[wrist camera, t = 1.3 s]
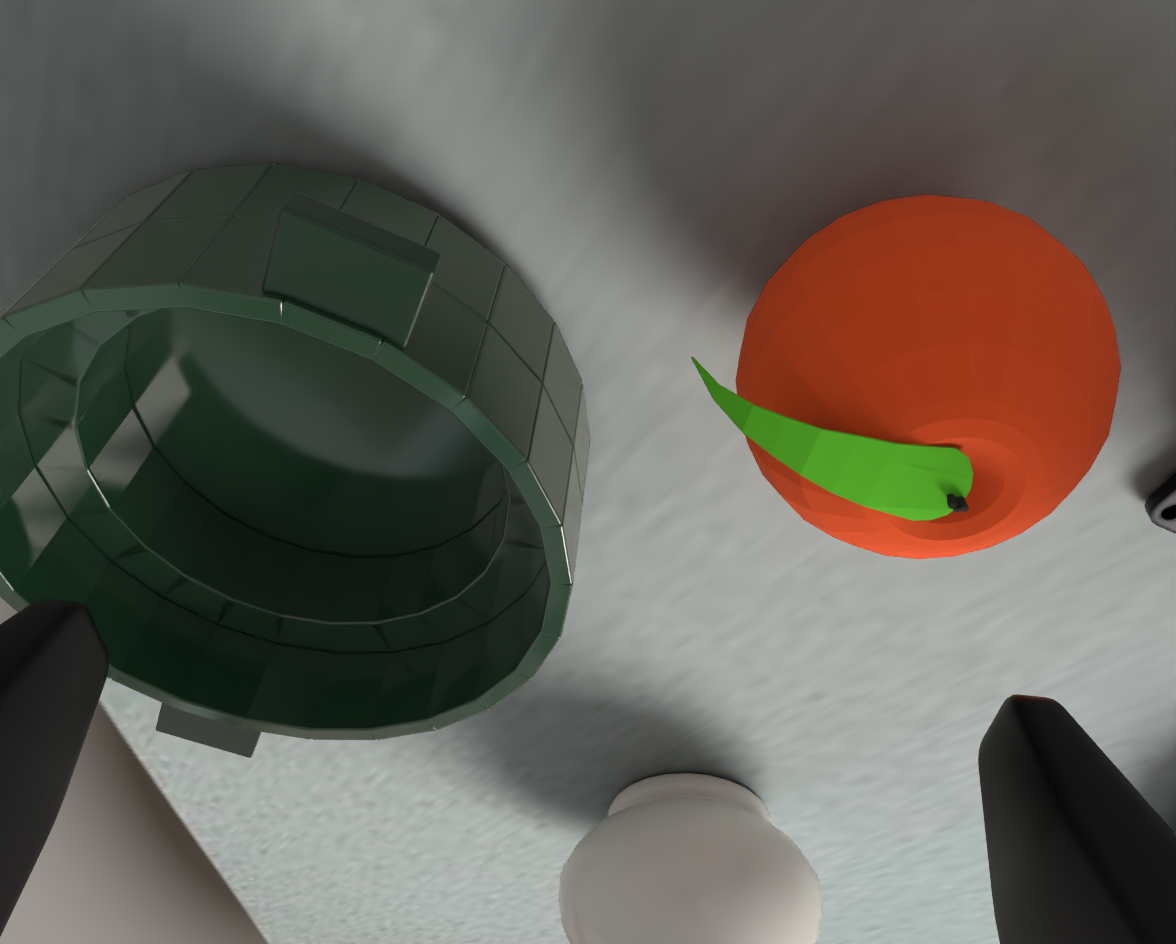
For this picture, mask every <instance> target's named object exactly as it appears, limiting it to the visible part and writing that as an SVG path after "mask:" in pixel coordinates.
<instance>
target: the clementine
mask: <svg viewBox="0 0 1176 944" xmlns="http://www.w3.org/2000/svg"><path fill="white" fill-rule="evenodd" d="M691 358H692V360H693V362H694V364H695V366H696V368H697V370H698V372H699V373H700V375H701V377H702V379H703V381H704V383H705V385H706V387H707V389H708V391H709V392H710V394H711V396H712V398H713V399H714V401H715V402H716V403H717V404H718V405H719V406H720V407H721V409H722V410H723V411H724V412H725V413H726V414H727V415H728V416H729V418H730V419H731V420H732V421H733V422H734V423H735V424H736V426H737V427H738V428H739V429H740V430H741V431H742V432H743V433H744V434H745V436H746V439H747V443H748V445H749V447H750V449H751V451H752V453H753V456H754V458H755V460H756V462H757V464H758V466H759V468H760V470H761V472H762V474H763V476H764V477H765V478H766V479H767V480H768V481H769V482H770V484H771V485H772V486H773V487H774V488H775V489H776V490H777V492H778V493H779V494H780V495H781V496H782V497H783V498H784V499H785V500H786V501H787V502H788V504H789V505H790V506H791V507H792V508H793V509H794V510H795V511H796V512H797V513H798V514H799V515H800V516H801V517H802V518H803V519H804V520H805V521H807V522H809V523H810V524H812V525H814V526H815V527H817V528H819V529H820V530H822V531H824V532H825V533H827V534H829V535H831V536H832V537H834V538H837V539H839V540H842V541H844V542H846V543H849V544H851V545H854V546H857V547H860V548H863V549H866V550H869V551H873V552H876V553H879V554H882V555H886V556H895V557H905V558H915V559H924V558H938V557H951V556H957V555H961V554H965V553H969V552H973V551H977V550H981V549H985V548H989V547H991V546H993V545H996V544H998V543H1000V542H1003V541H1005V540H1007V539H1009V538H1012V537H1014V536H1016V535H1018V534H1021V533H1023V532H1024V531H1025V530H1027V529H1028V528H1030V527H1031V526H1033V525H1034V524H1036V523H1037V522H1039V521H1040V520H1042V519H1043V518H1045V517H1046V516H1047V515H1049V514H1050V513H1052V511H1053V510H1054V509H1055V508H1056V507H1057V506H1058V505H1059V504H1060V503H1061V502H1062V501H1063V500H1064V499H1065V498H1066V497H1067V496H1068V495H1069V494H1070V493H1071V492H1072V490H1073V489H1074V488H1075V487H1076V486H1077V484H1078V483H1079V482H1080V481H1081V479H1082V478H1083V477H1084V476H1085V474H1086V473H1087V472H1088V471H1089V469H1090V468H1091V466H1092V464H1093V463H1094V461H1095V459H1096V457H1097V455H1098V454H1099V452H1100V450H1101V448H1102V446H1103V445H1104V443H1105V441H1106V439H1107V437H1108V436H1109V431H1110V426H1111V422H1112V417H1113V412H1114V407H1115V402H1116V396H1117V390H1118V383H1119V377H1120V371H1121V365H1120V358H1119V352H1118V346H1117V339H1116V333H1115V328H1114V325H1113V322H1112V319H1111V316H1110V313H1109V310H1108V308H1107V305H1106V302H1105V299H1104V297H1103V296H1102V294H1101V292H1100V290H1099V289H1098V287H1097V285H1096V284H1095V282H1094V280H1093V279H1092V277H1091V275H1090V274H1089V272H1088V270H1087V268H1086V267H1085V265H1084V263H1082V262H1081V261H1080V260H1079V259H1078V258H1077V257H1076V256H1075V255H1074V254H1072V253H1071V252H1070V251H1069V250H1068V249H1067V248H1066V247H1065V246H1064V245H1062V244H1061V243H1060V242H1059V241H1058V240H1056V239H1055V238H1054V237H1053V236H1051V235H1050V234H1049V233H1048V232H1046V231H1045V230H1044V229H1043V228H1042V227H1040V226H1039V225H1038V224H1037V223H1035V222H1034V221H1033V220H1032V219H1030V218H1029V217H1027V216H1024V215H1021V214H1019V213H1016V212H1014V211H1011V210H1008V209H1006V208H1003V207H1001V206H998V205H995V204H993V203H990V202H988V201H982V200H974V199H965V198H955V197H945V196H935V195H919V196H912V197H905V198H898V199H891V200H884V201H880V202H877V203H875V204H872V205H870V206H867V207H864V208H862V209H859V210H857V211H854V212H851V213H849V214H846V215H844V216H841V217H839V218H838V219H836V220H835V221H833V222H832V223H831V224H829V225H828V226H826V227H825V228H823V229H822V230H820V231H819V232H817V233H816V234H814V235H813V236H811V237H810V238H808V239H807V240H805V241H804V242H803V244H802V245H801V246H800V247H799V248H798V249H797V250H796V251H795V252H794V253H793V254H792V255H791V256H790V258H789V259H788V260H787V261H786V262H785V263H784V264H783V265H782V266H781V267H780V268H779V269H778V270H777V272H776V273H775V274H774V275H773V276H772V277H771V278H770V280H769V281H768V282H767V283H766V285H765V287H764V289H763V291H762V293H761V294H760V296H759V298H758V300H757V302H756V304H755V306H754V307H753V309H752V311H751V313H750V315H749V317H748V319H747V323H746V328H745V332H744V337H743V342H742V347H741V352H740V357H739V363H738V369H737V376H736V388H737V394H735V393H733V392H731V391H730V390H728V389H726V388H724V387H723V386H721V385H719V384H718V383H717V382H716V381H715V379H714V378H713V377H712V376H711V375H710V374H709V373H708V372H707V371H706V370H705V369H704V368H703V367H702V366H701V365H700V364H699V363H698V362H697V361H696V360H695V358H694V357H691Z"/></svg>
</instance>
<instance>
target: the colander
mask: <svg viewBox="0 0 1176 944" xmlns="http://www.w3.org/2000/svg"><path fill="white" fill-rule="evenodd" d="M293 192H300V193H302V194H304V195H307V196H309V197H311V198H314V199H316V200H318V201H321V202H323V203H325V204H328V205H330V206H332V207H335V208H337V209H339V210H342V211H344V212H346V213H349V214H351V215H353V216H356V217H358V218H361V219H363V220H365V221H368V222H370V223H372V224H375V225H377V226H379V227H382V228H384V229H386V230H389V231H391V232H393V233H396V234H398V235H400V236H403V237H405V238H407V239H410V240H412V241H414V242H417V243H419V244H421V245H424V246H426V247H428V248H431V249H433V250H436V251H438V252H439V253H440V254H441V261H440V263H439V266H438V269H437V271H436V274H435V276H434V279H433V282H432V284H431V287H430V290H429V292H428V295H427V298H426V300H425V303H424V305H423V308H422V311H421V313H420V316H419V319H418V321H417V324H416V326H415V329H414V332H413V334H412V337H411V339H410V342H409V344H408V347H407V348H406V349H404V348H401V347H400V346H398V345H397V344H395V343H394V342H392V341H391V340H389V339H387V338H384V337H383V336H382V335H380V334H377V333H375V332H372V331H370V330H367V329H365V328H362V327H360V326H357V325H355V324H352V323H350V322H347V321H345V320H342V319H340V318H337V317H335V316H332V315H330V314H327V313H325V312H322V311H320V310H317V309H315V308H312V307H310V306H307V305H305V304H302V303H300V302H297V301H295V300H292V299H290V298H284V297H282V296H279V295H273V294H267V293H264V292H262V291H261V289H262V284H263V280H264V276H265V272H266V268H267V264H268V259H269V255H270V251H271V247H272V243H273V238H274V234H275V230H276V226H277V222H278V218H279V213H280V209H281V208H282V206H283V205H284V203H285V202H286V201H287V199H288V198H289V197H290V195H291V194H292V193H293ZM504 264H505V263H504V262H503V261H502V260H501V259H500V258H498V257H497V256H496V255H494V254H493V253H491V252H490V251H489V250H487V249H486V248H485V247H483V246H482V245H481V244H479V243H478V242H477V241H475V240H474V239H473V238H471V237H470V236H468V235H467V234H466V233H464V232H463V231H462V230H460V229H459V228H458V227H456V226H455V225H454V224H452V223H451V222H450V221H448V220H447V219H445V218H444V217H443V216H441V215H439V216H438V213H437V212H435V211H433V210H431V209H428V208H426V207H424V206H421V205H419V204H417V203H414V202H412V201H410V200H408V199H405V198H403V197H401V196H398V195H396V194H394V193H392V192H389V191H387V190H385V189H382V188H380V187H378V186H375V185H373V184H371V183H369V182H366V181H364V180H362V179H359V180H358V179H357V178H354V177H348V176H343V175H337V174H332V173H326V172H321V171H315V170H310V169H304V168H299V167H293V166H288V165H282V164H258V165H245V166H231V167H218V168H204V169H196V170H190V171H188V172H185V173H183V174H180V175H177V176H175V177H172V178H170V179H167V180H165V181H162V182H160V183H157V184H154V185H152V186H149V187H147V188H144V189H142V190H139V191H137V192H134V193H131V194H129V195H128V196H127V197H125V198H123V199H122V200H121V201H120V202H119V203H118V204H117V205H116V206H114V207H113V208H112V209H111V210H110V211H109V212H108V213H107V214H105V215H104V216H103V217H102V218H101V219H100V220H99V221H98V222H97V223H95V224H94V225H93V226H92V227H91V228H90V229H89V230H88V231H86V232H85V233H84V234H83V235H82V236H81V237H80V238H79V239H78V240H77V241H76V242H75V243H74V244H73V245H72V246H70V247H69V248H68V249H67V250H66V251H65V252H64V253H63V254H62V255H61V256H60V257H59V258H58V259H57V260H56V261H55V262H54V263H53V264H52V265H51V266H50V267H49V268H48V269H47V270H46V271H44V272H43V273H42V274H41V275H40V276H39V277H38V278H37V279H36V280H35V281H34V282H33V283H32V284H31V285H30V286H29V287H28V288H27V289H26V290H25V291H24V292H23V293H22V294H20V295H19V296H18V297H17V298H16V299H15V300H14V301H13V302H12V303H11V304H10V305H9V306H8V307H7V308H6V309H5V310H4V311H3V312H2V313H1V314H0V597H1V598H2V599H4V600H5V601H6V602H7V603H8V604H9V605H10V606H11V607H13V608H14V609H15V610H16V611H17V612H19V611H21V610H22V609H24V608H25V607H27V606H28V605H30V604H32V603H34V602H36V601H38V600H42V599H55V600H66V601H76V602H80V603H82V604H83V605H85V606H86V607H87V608H88V610H89V611H90V614H91V616H92V618H93V620H94V623H95V625H96V627H97V629H98V631H99V634H100V636H101V638H102V640H103V643H104V645H105V647H106V649H107V652H108V657H109V669H108V674H107V677H108V678H112V680H114V681H116V682H118V683H120V684H122V685H125V686H127V687H129V688H131V689H134V690H136V691H138V692H140V693H142V694H145V695H147V696H149V697H151V698H154V699H156V700H158V701H160V702H162V703H165V704H167V705H169V706H171V707H173V708H177V707H178V709H179V710H182V711H185V712H189V713H192V714H195V715H199V716H202V717H205V718H209V719H212V720H215V721H219V722H222V723H225V724H229V725H232V726H236V727H239V728H245V729H247V730H253V731H260V732H266V733H273V734H279V735H285V736H292V737H298V738H305V739H311V738H312V739H314V740H376V739H377V740H380V739H386V738H392V737H398V736H404V735H410V734H416V733H423V732H429V731H435V730H436V729H437V730H438V729H441V728H444V727H446V726H449V725H451V724H454V723H456V722H459V721H462V720H464V719H467V718H469V717H472V716H475V715H477V714H480V713H482V712H485V711H487V710H488V709H491V708H492V707H494V706H495V705H496V704H498V703H499V702H501V701H502V700H503V699H505V698H506V697H507V696H509V695H510V694H511V693H513V692H514V691H516V690H517V689H518V688H520V687H521V686H522V685H524V684H525V683H526V682H528V681H529V680H530V679H531V678H532V677H533V676H534V675H535V673H536V672H537V670H538V669H539V668H540V666H541V665H542V663H543V662H544V660H545V659H546V657H547V656H548V655H549V653H550V652H551V650H552V649H553V647H554V646H555V644H556V643H557V642H558V640H559V639H560V637H561V634H562V632H563V627H564V623H565V618H566V614H567V609H568V605H569V600H570V596H571V591H572V587H573V579H574V571H575V563H576V554H577V546H578V537H579V529H580V521H581V512H582V504H583V496H584V487H585V479H586V470H587V462H588V454H589V445H590V434H589V426H588V418H587V411H586V403H585V396H584V388H583V384H582V379H581V377H580V374H579V372H578V370H577V368H576V366H575V364H574V361H573V359H572V357H571V355H570V353H569V351H568V348H567V346H566V344H565V342H564V340H563V338H562V335H561V333H560V331H559V329H558V327H557V325H556V323H555V322H553V319H552V317H551V316H550V315H549V314H548V313H547V311H546V310H545V309H544V308H543V307H542V306H541V304H540V303H539V302H538V301H537V300H536V298H535V297H534V296H533V295H532V294H531V292H530V291H529V290H528V289H527V288H526V286H525V285H524V284H523V283H522V282H521V280H520V279H519V278H518V277H517V276H516V274H515V273H514V272H513V271H512V270H511V269H510V267H509V266H508V265H507V264H505V265H504Z"/></svg>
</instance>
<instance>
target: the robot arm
mask: <svg viewBox="0 0 1176 944" xmlns="http://www.w3.org/2000/svg"><path fill="white" fill-rule="evenodd" d="M1173 505H1174V506H1173ZM1169 506H1172V507H1170V508H1167V507H1169ZM1165 508H1167V509H1165ZM1145 509H1146V512H1147V514H1148V515H1149V517H1150V519H1151V521H1152V522H1153V523H1154V524H1156V525H1157V526H1160V527H1162V528H1164V529H1166V530H1169V531H1171V532H1173V533H1176V474H1175V475H1174V476H1173V477H1171V478H1170V479H1169V480H1168V481H1167V482H1165V483H1164V484H1163V485H1162V486H1161V487H1160V488H1158V489H1157V490H1156V491H1155V492H1154V493H1152V494H1151V495H1150V496H1149V497H1148V499H1147V500H1146V502H1145ZM108 669H109V657H108V652H107V649H106V647H105V645H104V643H103V640H102V638H101V636H100V634H99V631H98V629H97V627H96V625H95V623H94V620H93V618H92V616H91V614H90V611H89V610H88V608H87V607H86V606H85V605H83V604H82V603H80V602H76V601H66V600H55V599H42V600H38V601H36V602H34V603H32V604H30V605H28V606H27V607H25V608H24V609H22V610H21V611H19V612H18V613H17V614H15V615H14V616H12V617H11V618H9V619H8V620H6V621H5V622H3V623H2V624H1V625H0V936H1V934H2V932H3V930H4V928H5V926H6V924H7V922H8V920H9V918H10V915H11V913H12V911H13V909H14V907H15V905H16V903H17V901H18V899H19V897H20V895H21V893H22V890H23V888H24V886H25V884H26V882H27V880H28V878H29V875H30V874H31V872H32V870H33V867H34V865H35V863H36V861H37V859H38V857H39V855H40V853H41V851H42V849H43V846H44V844H45V842H46V840H47V838H48V836H49V833H50V831H51V829H52V827H53V825H54V822H55V820H56V818H57V815H58V812H59V810H60V807H61V805H62V802H63V800H64V797H65V794H66V792H67V789H68V786H69V783H70V780H71V777H72V775H73V772H74V769H75V766H76V763H77V760H78V758H79V755H80V752H81V749H82V746H83V743H84V741H85V738H86V735H87V732H88V729H89V726H90V723H91V721H92V717H93V715H94V712H95V709H96V707H97V704H98V701H99V698H100V695H101V692H102V690H103V687H104V684H105V681H106V678H107V674H108ZM978 764H979V775H980V785H981V794H982V804H983V813H984V822H985V832H986V841H987V851H988V860H989V870H990V879H991V889H992V897H993V905H994V913H995V920H996V925H997V930H998V935H999V940H1000V944H1176V834H1175V833H1174V832H1173V831H1172V830H1171V828H1170V827H1169V826H1168V825H1167V824H1166V823H1165V822H1164V821H1163V819H1162V818H1161V817H1160V816H1159V815H1158V814H1157V813H1156V811H1155V810H1154V809H1153V808H1152V807H1151V806H1150V805H1149V804H1148V802H1147V801H1146V800H1145V799H1144V798H1143V797H1142V796H1141V794H1140V793H1139V792H1138V791H1137V790H1136V789H1135V788H1134V787H1133V785H1132V784H1131V783H1130V782H1129V781H1128V780H1127V779H1126V777H1125V776H1124V775H1123V774H1122V773H1121V772H1120V771H1119V769H1118V768H1117V767H1116V766H1115V765H1114V764H1113V763H1112V762H1111V760H1110V759H1109V758H1108V757H1107V756H1106V755H1105V754H1104V752H1103V751H1102V750H1101V749H1100V748H1099V747H1098V746H1097V745H1096V743H1095V742H1094V741H1093V740H1092V739H1091V738H1090V737H1089V735H1088V734H1087V733H1086V732H1085V731H1084V730H1083V729H1082V728H1081V726H1080V725H1079V724H1078V723H1077V722H1076V721H1075V720H1074V718H1073V717H1072V716H1071V715H1070V714H1069V713H1068V712H1067V710H1066V709H1065V708H1064V707H1063V706H1062V705H1061V704H1059V703H1058V702H1057V701H1055V700H1053V699H1050V698H1047V697H1037V696H1027V695H1012V696H1010V697H1009V698H1007V699H1006V700H1005V701H1004V703H1003V705H1002V706H1001V708H1000V710H999V711H998V713H997V715H996V717H995V718H994V720H993V722H992V724H991V725H990V727H989V729H988V731H987V732H986V734H985V736H984V738H983V740H982V742H981V745H980V748H979V757H978Z"/></svg>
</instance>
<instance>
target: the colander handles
mask: <svg viewBox="0 0 1176 944" xmlns="http://www.w3.org/2000/svg"><path fill="white" fill-rule="evenodd" d="M440 261H441V254H440V253H439V252H438V251H436V250H433V249H431V248H428V247H426V246H424V245H421V244H419V243H417V242H414V241H412V240H410V239H407V238H405V237H403V236H400V235H398V234H396V233H393V232H391V231H389V230H386V229H384V228H382V227H379V226H377V225H375V224H372V223H370V222H368V221H365V220H363V219H361V218H358V217H356V216H353V215H351V214H349V213H346V212H344V211H342V210H339V209H337V208H335V207H332V206H330V205H328V204H325V203H323V202H321V201H318V200H316V199H314V198H311V197H309V196H307V195H304V194H302V193H300V192H293V193H292V194H291V195H290V197H289V198H288V199H287V201H286V202H285V203H284V205H283V206H282V208H281V209H280V213H279V218H278V222H277V226H276V230H275V234H274V238H273V243H272V247H271V251H270V255H269V259H268V264H267V268H266V272H265V276H264V280H263V284H262V289H261V291H262V292H264V293H267V294H273V295H279V296H282V297H284V298H290V299H292V300H295V301H297V302H300V303H302V304H305V305H307V306H310V307H312V308H315V309H317V310H320V311H322V312H325V313H327V314H330V315H332V316H335V317H337V318H340V319H342V320H345V321H347V322H350V323H352V324H355V325H357V326H360V327H362V328H365V329H367V330H370V331H372V332H375V333H377V334H380V335H382V336H383V337H384V338H387V339H389V340H391V341H392V342H394V343H395V344H397V345H398V346H400V347H401V348H404V349H406V348H407V347H408V344H409V342H410V339H411V337H412V334H413V332H414V329H415V326H416V324H417V321H418V319H419V316H420V313H421V311H422V308H423V305H424V303H425V300H426V298H427V295H428V292H429V290H430V287H431V284H432V282H433V279H434V276H435V274H436V271H437V269H438V266H439V263H440ZM156 730H157V731H159V732H163V733H166V734H170V735H173V736H177V737H180V738H183V739H187V740H190V741H194V742H197V743H201V744H204V745H207V746H211V747H214V748H218V749H221V750H225V751H228V752H231V753H235V754H238V755H242V756H245V757H249V758H250V757H252V755H253V752H254V750H255V747H256V745H257V742H258V739H259V737H260V734H261V732H260V731H253V730H247V729H245V728H239V727H236V726H232V725H229V724H225V723H222V722H219V721H215V720H212V719H209V718H205V717H202V716H199V715H195V714H192V713H189V712H185V711H182V710H179V709H178V707H177V708H173V707H171V706H169V705H167V704H165V703H162V705H161V710H160V714H159V718H158V722H157V726H156Z"/></svg>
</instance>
